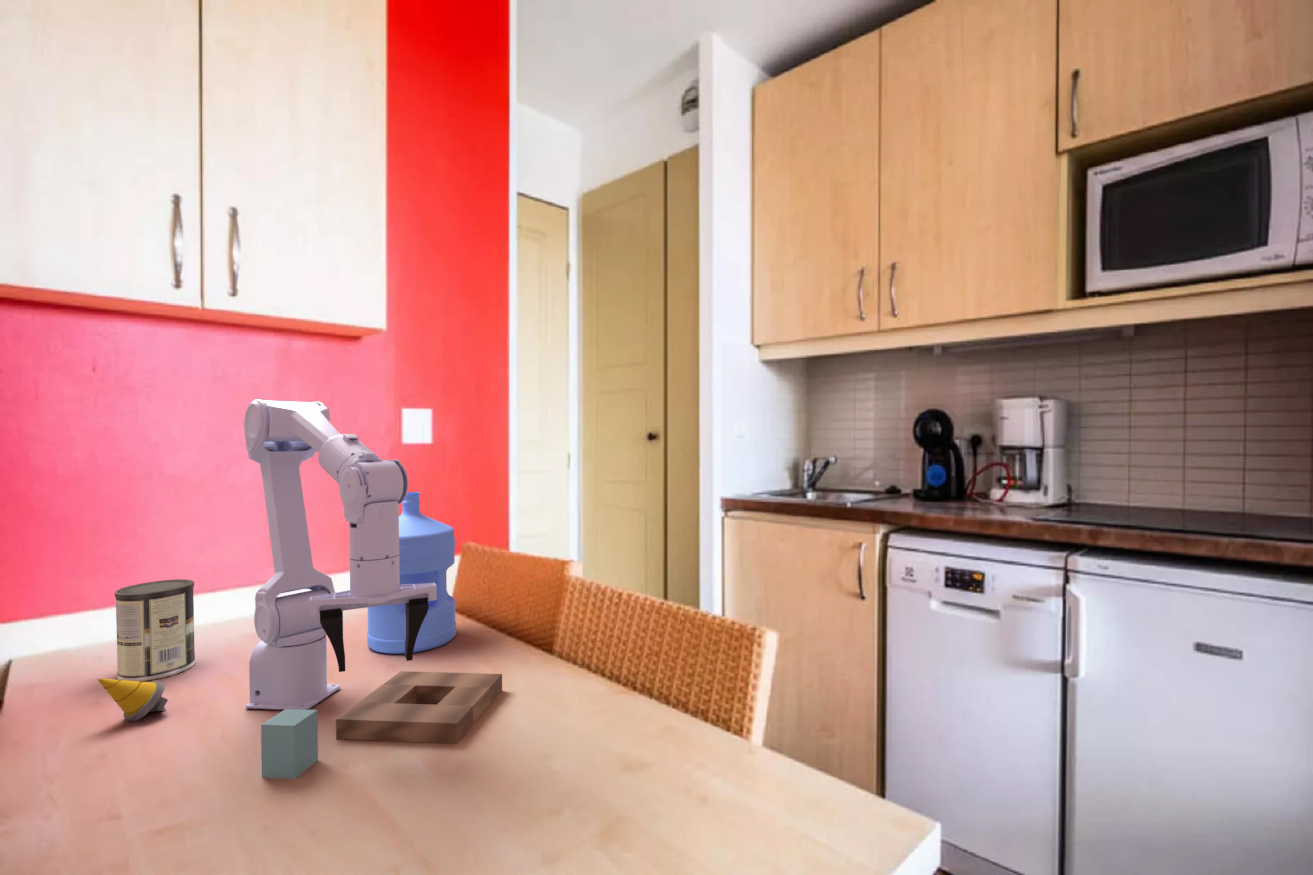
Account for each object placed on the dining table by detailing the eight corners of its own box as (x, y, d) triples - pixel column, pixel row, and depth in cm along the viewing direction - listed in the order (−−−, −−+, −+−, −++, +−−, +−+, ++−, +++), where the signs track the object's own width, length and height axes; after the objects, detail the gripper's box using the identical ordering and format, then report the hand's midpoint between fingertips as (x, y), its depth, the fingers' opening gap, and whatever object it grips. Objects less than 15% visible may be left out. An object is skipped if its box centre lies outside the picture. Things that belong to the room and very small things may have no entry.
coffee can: (156, 658, 108) (155, 578, 108) (210, 659, 107) (209, 579, 107) (97, 681, 98) (96, 593, 98) (156, 683, 97) (155, 594, 97)
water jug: (347, 651, 110) (345, 496, 110) (406, 625, 125) (404, 488, 125) (420, 659, 106) (418, 497, 106) (472, 631, 121) (470, 489, 121)
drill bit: (170, 722, 84) (99, 690, 79) (142, 735, 85) (70, 704, 80) (189, 686, 89) (123, 653, 83) (162, 699, 90) (95, 668, 84)
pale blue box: (261, 777, 69) (261, 724, 69) (286, 759, 73) (285, 708, 73) (294, 779, 69) (294, 725, 69) (317, 760, 73) (317, 710, 73)
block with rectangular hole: (336, 738, 78) (335, 719, 78) (400, 687, 94) (400, 671, 94) (457, 743, 76) (456, 723, 76) (502, 690, 92) (502, 673, 92)
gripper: (307, 568, 71) (309, 686, 71) (439, 555, 77) (440, 663, 77) (310, 557, 77) (311, 665, 77) (432, 547, 84) (433, 646, 84)
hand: (376, 663), depth 78 cm, fingers open, 7 cm apart
